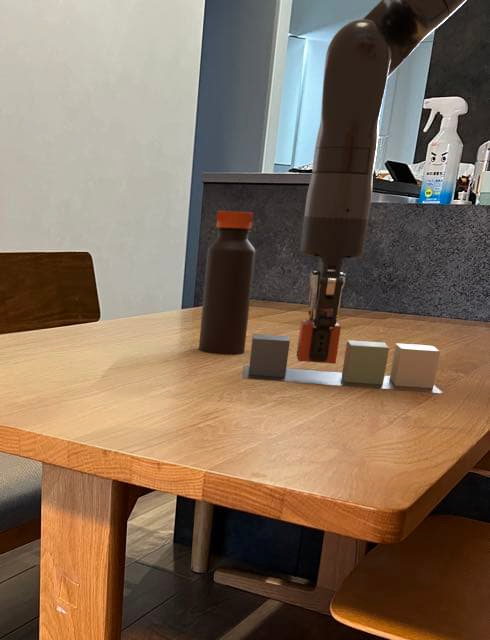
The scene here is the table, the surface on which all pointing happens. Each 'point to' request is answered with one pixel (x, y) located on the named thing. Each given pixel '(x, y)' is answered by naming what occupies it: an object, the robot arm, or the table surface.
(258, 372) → the slate block
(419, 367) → the cream block
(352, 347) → the sage block
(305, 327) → the terracotta block
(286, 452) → the table surface
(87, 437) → the table surface
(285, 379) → the light grey flat plate
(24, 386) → the table surface
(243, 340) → the bottle
